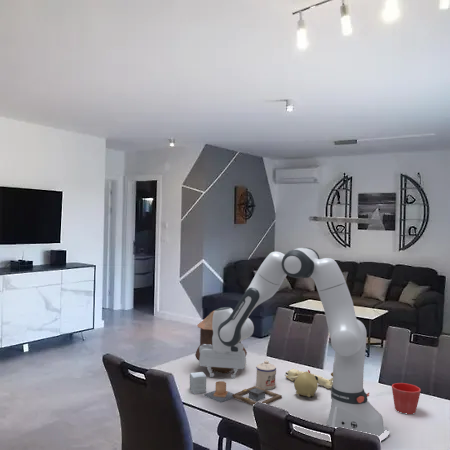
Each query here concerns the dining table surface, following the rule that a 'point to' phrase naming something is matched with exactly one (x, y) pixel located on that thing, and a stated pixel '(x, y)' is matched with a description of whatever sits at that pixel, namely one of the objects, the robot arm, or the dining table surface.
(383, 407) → the dining table surface
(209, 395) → the pad
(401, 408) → the flower pot
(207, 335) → the pottery vessel
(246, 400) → the frame
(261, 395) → the grey square block
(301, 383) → the toy pig
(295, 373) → the cat figure
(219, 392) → the tan domed square base
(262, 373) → the teacup with lid
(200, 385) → the product box
